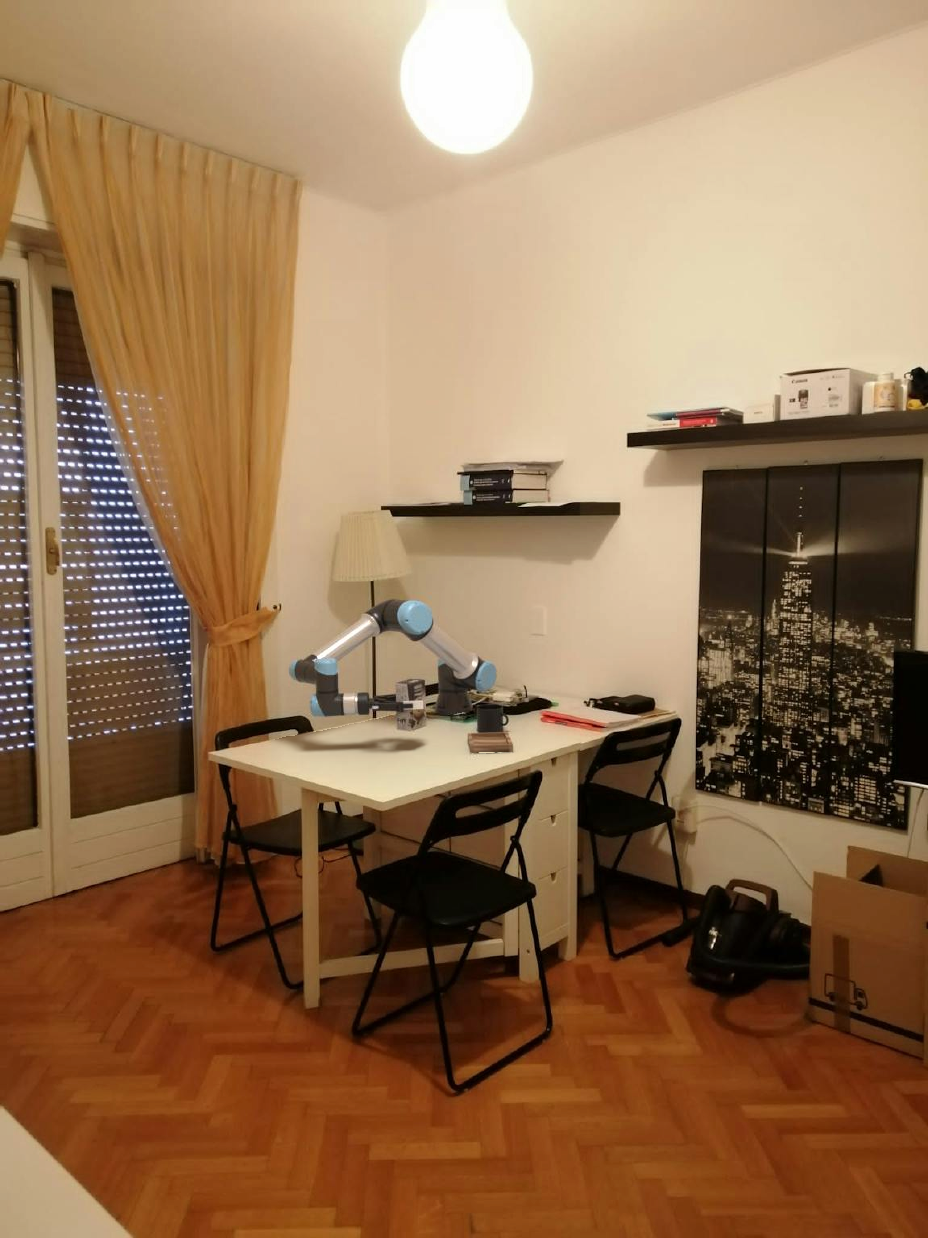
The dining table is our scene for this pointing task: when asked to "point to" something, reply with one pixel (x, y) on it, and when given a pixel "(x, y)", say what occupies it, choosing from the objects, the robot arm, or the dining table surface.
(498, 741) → the tray
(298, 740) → the dining table surface
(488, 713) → the mug
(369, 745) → the dining table surface
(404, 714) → the coffee box
